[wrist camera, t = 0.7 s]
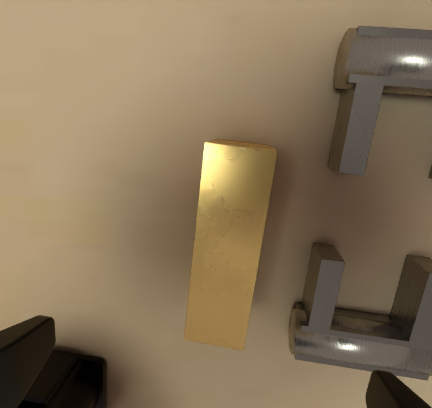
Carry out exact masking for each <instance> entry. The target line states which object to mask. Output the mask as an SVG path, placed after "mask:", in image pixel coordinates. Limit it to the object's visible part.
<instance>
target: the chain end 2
mask: <svg viewBox="0 0 432 408" xmlns="http://www.w3.org/2000/svg"><path fill="white" fill-rule="evenodd" d="M344 264H345V262H344V260H343V259H342V257H341V256H340V255H339V253H338V252H337V250H336V249H335V247H334V246H332V245H324V244H316V243H313V246H312V251H311V256H310V262H309V267H308V272H307V278H306V283H305V288H304V294H303V299H302V303H296V304H295V308H294V309H293V310H292V312H291V316H290V322H289V348H290V352H291V354H294V355H295V359H297V360H303V361H310V362H316V363H322V364H328V365H335V366H341V367H347V368H353V369H360V370H366V371H372V372H373V371H374V370H382V371H388V372H391V373H392V374H394V375H397V376H403V377H409V378H416V379H422V380H428V378H429V376H432V260H431V259H430V258H427V257H419V256H411V255H407V257H406V261H405V264H404V268H403V272H402V275H401V279H400V282H399V286H398V290H397V293H396V297H395V300H394V304H393V308H392V311H391V315H390V316H386V315H379V314H372V313H365V312H358V311H351V310H344V309H338V308H335V305H336V300H337V296H338V291H339V287H340V282H341V277H342V273H343V268H344Z"/></svg>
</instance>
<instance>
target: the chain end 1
mask: <svg viewBox="0 0 432 408" xmlns="http://www.w3.org/2000/svg"><path fill="white" fill-rule="evenodd" d="M334 86H335V89H342V91H341V96H340V101H339V107H338V112H337V117H336V123H335V128H334V133H333V139H332V144H331V149H330V155H329V160H328V165H327V167H328V168H330V169H332V170H333V171H335V172H337V173H341V174H351V175H361V176H364V173H365V169H366V164H367V160H368V155H369V151H370V146H371V142H372V137H373V133H374V128H375V123H376V119H377V114H378V110H379V105H380V101H381V96H382V93H394V94H407V95H419V96H432V30H419V29H403V28H386V27H370V26H358V27H357V28H349V29H348V30H347V31H346V33H345V35H344V37H343V39H342V42H341V45H340V48H339V51H338V55H337V59H336V64H335V70H334ZM429 178H431V179H432V167H431V171H430V174H429Z"/></svg>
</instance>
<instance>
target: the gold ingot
mask: <svg viewBox="0 0 432 408" xmlns="http://www.w3.org/2000/svg"><path fill="white" fill-rule="evenodd" d="M276 158H277V151H276V150H275V149H274V148H273V147H272V146H269V145H261V144H254V143H246V142H238V141H230V140H222V139H214V140H211V141H208V142H205V146H204V155H203V164H202V174H201V183H200V192H199V202H198V211H197V221H196V230H195V239H194V249H193V258H192V267H191V277H190V286H189V295H188V305H187V314H186V323H185V333H184V340H189V341H194V342H199V343H205V344H210V345H216V346H221V347H226V348H232V349H237V350H243V351H244V345H245V340H246V334H247V328H248V322H249V316H250V310H251V304H252V299H253V293H254V287H255V281H256V275H257V269H258V263H259V258H260V252H261V246H262V240H263V234H264V228H265V222H266V217H267V211H268V205H269V199H270V193H271V187H272V181H273V176H274V170H275V164H276Z"/></svg>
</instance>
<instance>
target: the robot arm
mask: <svg viewBox="0 0 432 408" xmlns="http://www.w3.org/2000/svg"><path fill="white" fill-rule="evenodd" d="M55 342H56V338H55V322H54V319H53V318H52V317H48V316H42V315H39V316H36V317H33V318H31V319H28V320H26V321H23V322H21V323H19V324H16V325H14V326H11V327H9V328H7V329H4V330H2V331H0V408H106V364H105V361H104V360H103V359H101V358H97V357H91V356H85V355H79V354H73V353H67V352H61V351H55V350H53V349H54V346H55ZM366 405H367V408H432V407H430V406H429V405H428V404H427V403H426V402H425V401H423V400H422V399H421V398H420V397H419V396H418V395H417V394H415V393H414V392H413V391H412V390H411V389H410V388H409V387H407V386H406V385H405V384H404V383H403V382H402V381H400V380H399V379H398V378H397V377H396V376H395V375H394V374H392V373H391V372H388V371H382V370H374V371H373V372H372V374H371V377H370V381H369V384H368V388H367V392H366Z"/></svg>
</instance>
